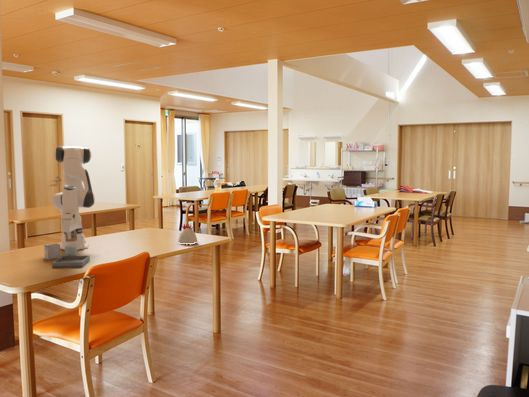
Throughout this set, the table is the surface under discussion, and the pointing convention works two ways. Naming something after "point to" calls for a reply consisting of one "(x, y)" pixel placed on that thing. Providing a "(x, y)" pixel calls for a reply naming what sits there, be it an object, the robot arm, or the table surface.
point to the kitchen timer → (187, 235)
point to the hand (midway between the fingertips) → (71, 237)
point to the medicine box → (52, 251)
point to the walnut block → (74, 237)
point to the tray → (70, 261)
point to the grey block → (71, 250)
